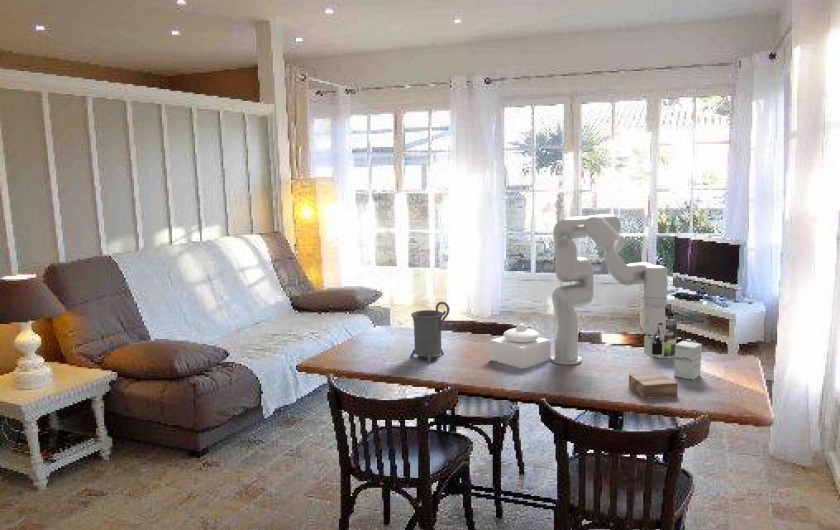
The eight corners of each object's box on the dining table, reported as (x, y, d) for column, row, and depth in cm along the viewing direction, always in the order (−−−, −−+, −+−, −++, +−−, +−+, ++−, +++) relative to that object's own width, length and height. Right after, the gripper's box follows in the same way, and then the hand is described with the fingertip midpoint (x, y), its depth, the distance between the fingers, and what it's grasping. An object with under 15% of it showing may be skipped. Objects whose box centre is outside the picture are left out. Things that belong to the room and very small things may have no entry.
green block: (644, 352, 225) (644, 336, 224) (658, 352, 225) (658, 335, 224) (649, 356, 220) (649, 339, 219) (663, 356, 220) (664, 339, 220)
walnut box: (628, 387, 230) (629, 374, 229) (660, 385, 232) (660, 372, 231) (644, 399, 218) (644, 385, 218) (677, 397, 220) (677, 383, 219)
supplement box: (673, 376, 240) (674, 344, 238) (681, 371, 245) (682, 340, 243) (693, 380, 235) (694, 347, 233) (701, 375, 240) (702, 343, 238)
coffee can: (677, 359, 262) (679, 325, 260) (651, 357, 264) (652, 324, 262) (674, 352, 272) (675, 319, 269) (648, 351, 274) (649, 319, 272)
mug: (402, 360, 270) (401, 302, 266) (418, 351, 283) (416, 296, 279) (443, 365, 262) (441, 305, 258) (457, 355, 275) (456, 299, 271)
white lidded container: (523, 369, 254) (522, 331, 251) (490, 360, 267) (489, 323, 265) (550, 360, 265) (550, 323, 262) (517, 352, 278) (517, 316, 276)
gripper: (635, 296, 229) (634, 346, 231) (653, 306, 212) (652, 359, 214) (656, 296, 229) (655, 345, 231) (676, 305, 212) (674, 358, 214)
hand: (653, 351), depth 223 cm, fingers closed on green block, 5 cm apart
